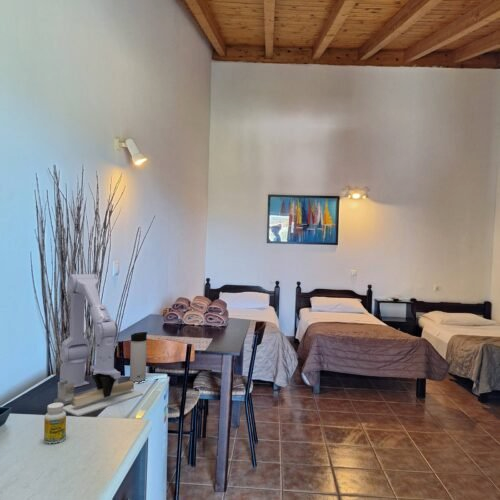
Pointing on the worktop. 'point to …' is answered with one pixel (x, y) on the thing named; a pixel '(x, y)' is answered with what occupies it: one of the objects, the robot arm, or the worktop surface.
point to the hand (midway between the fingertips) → (104, 395)
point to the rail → (101, 393)
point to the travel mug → (138, 357)
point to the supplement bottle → (55, 423)
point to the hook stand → (70, 392)
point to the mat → (101, 403)
